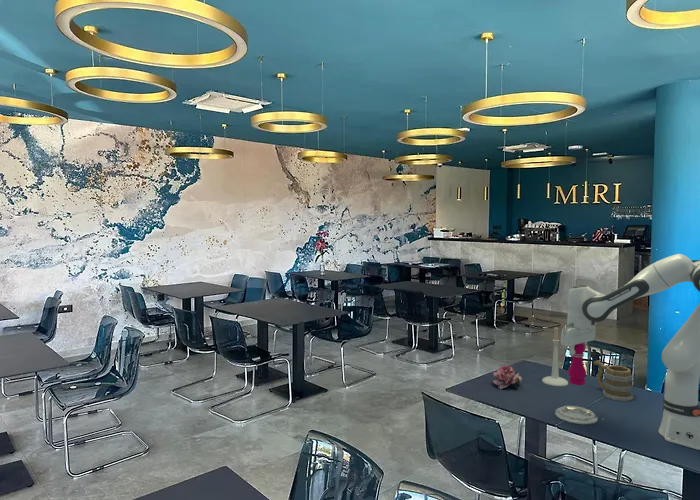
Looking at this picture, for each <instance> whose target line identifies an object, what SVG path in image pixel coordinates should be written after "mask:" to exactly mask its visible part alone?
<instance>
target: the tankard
mask: <svg viewBox="0 0 700 500" xmlns="http://www.w3.org/2000/svg"><path fill="white" fill-rule="evenodd" d="M593 364H594V365H595V366H598V372H597V376H596V381H597V382H596V383H597V384H598V386H599V387H600V388H602V395H603V396H604V397H605V398H608V399H610V400H612V401H620V402H629V401H633V400H634V396H633V393H632V390H633V386H632V381H633V375H632V371H631V369H630V367H629V368H628V367H625V366H623V365H616V364H615V365H605V364H604V363H602V361H600V360H598V359H597V360H595V361H593ZM604 370H605V371H604ZM603 375H604V376H605V380H604V383H603V379H602V377H603Z"/></svg>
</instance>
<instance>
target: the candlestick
mask: <svg viewBox="0 0 700 500" xmlns="http://www.w3.org/2000/svg"><path fill="white" fill-rule="evenodd" d="M558 337H559V328H558V327H557V326H556V327H554V328H553V339H552V343H553V353H552V363H551V364H552V367H551V375H548V376H545V377H543V378H542V379H541V382H542V383H543V384H545V385H549V386H553V387H566V386H568V385H569V381H568V380H567V379H565V378H563V377H560V375H559V374H560V373H559V347H558V345H559V342H560V340H559V338H558Z"/></svg>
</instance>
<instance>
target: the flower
mask: <svg viewBox="0 0 700 500" xmlns="http://www.w3.org/2000/svg"><path fill="white" fill-rule="evenodd" d="M515 373H516V370H515V368H513V366H511V365H510V364H509V365H508V364H507V365H502V366H499V368H498V369H496V371H493V376H494V377H495V378H494V379H492V381H493V384H495V386H498V389H499V388H500V390H502V389H504V388H507V387H509V386H510V385H514V384H515V383H516V385H515V388H517V387H518V385H519V383H521V381H523V378H522V376H521V375H520V372H519V373H516V374H515Z"/></svg>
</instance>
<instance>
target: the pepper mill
mask: <svg viewBox="0 0 700 500" xmlns="http://www.w3.org/2000/svg"><path fill="white" fill-rule="evenodd" d="M574 350H575V351H576V354H575V355H571V359H572V361H571V364H570V366H569V368H568V370H567V371H568V372H567V373H568V376H569V381H568V383H569V384H572V385H575V386H584V385H585V384H586V380H585V378H586V377H587V370H586V367H585V366H584V363H583V357H585V356H584V354H585V352H586V348H585V345H584V344H583V343H581V344H577V345H575V347H574ZM584 351H585V352H584Z"/></svg>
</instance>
